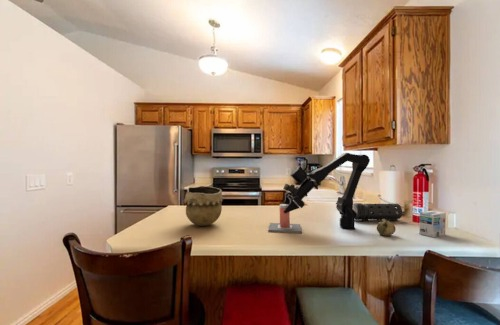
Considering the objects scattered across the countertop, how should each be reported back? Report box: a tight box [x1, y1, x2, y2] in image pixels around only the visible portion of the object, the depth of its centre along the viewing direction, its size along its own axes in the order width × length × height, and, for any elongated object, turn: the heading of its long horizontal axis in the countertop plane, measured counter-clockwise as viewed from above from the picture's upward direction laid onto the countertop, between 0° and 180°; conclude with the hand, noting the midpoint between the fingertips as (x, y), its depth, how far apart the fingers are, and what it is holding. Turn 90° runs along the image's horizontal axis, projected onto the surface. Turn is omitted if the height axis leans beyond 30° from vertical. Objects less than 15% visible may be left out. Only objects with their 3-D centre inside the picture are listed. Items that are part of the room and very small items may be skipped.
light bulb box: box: [418, 210, 447, 238], centre depth 128 cm, size 11×7×11 cm, turn 117°
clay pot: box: [182, 185, 224, 227], centre depth 140 cm, size 21×21×20 cm
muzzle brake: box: [353, 202, 403, 222], centre depth 156 cm, size 10×28×10 cm, turn 94°
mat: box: [267, 222, 303, 234], centre depth 135 cm, size 16×14×1 cm
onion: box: [376, 219, 397, 237], centre depth 126 cm, size 8×8×8 cm
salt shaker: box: [279, 203, 291, 228], centre depth 135 cm, size 5×5×11 cm
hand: (282, 211), depth 135 cm, fingers open, 8 cm apart
